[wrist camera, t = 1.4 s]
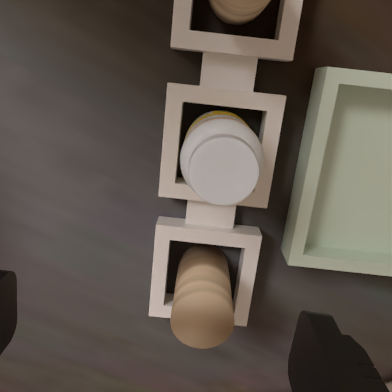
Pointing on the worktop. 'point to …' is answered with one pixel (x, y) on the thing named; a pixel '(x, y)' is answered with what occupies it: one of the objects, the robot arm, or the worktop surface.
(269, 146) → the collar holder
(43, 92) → the worktop surface
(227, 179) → the supplement bottle
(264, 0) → the beech peg inner
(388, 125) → the sage tray
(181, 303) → the beech peg outer
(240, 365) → the worktop surface
